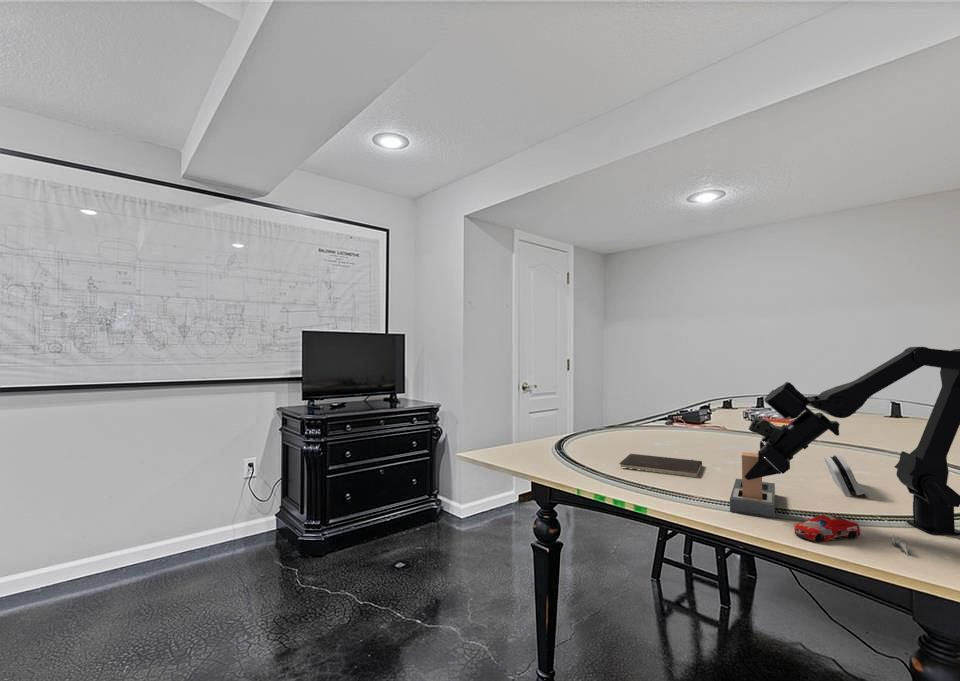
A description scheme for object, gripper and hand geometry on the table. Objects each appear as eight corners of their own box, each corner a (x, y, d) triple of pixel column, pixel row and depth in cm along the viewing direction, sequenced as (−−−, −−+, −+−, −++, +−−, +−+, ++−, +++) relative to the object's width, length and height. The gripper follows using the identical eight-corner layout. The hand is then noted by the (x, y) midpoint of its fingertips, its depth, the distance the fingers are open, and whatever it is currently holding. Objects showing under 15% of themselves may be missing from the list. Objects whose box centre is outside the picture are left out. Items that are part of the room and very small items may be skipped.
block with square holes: (774, 518, 106) (774, 504, 106) (730, 511, 111) (729, 497, 111) (775, 494, 123) (774, 482, 123) (736, 489, 128) (736, 477, 128)
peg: (762, 512, 110) (761, 457, 110) (742, 509, 112) (741, 455, 112) (762, 507, 113) (761, 453, 114) (743, 504, 116) (742, 452, 116)
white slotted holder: (870, 499, 118) (852, 461, 120) (848, 503, 120) (831, 465, 122) (855, 482, 133) (839, 448, 135) (835, 486, 135) (820, 452, 137)
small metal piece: (921, 559, 86) (920, 543, 86) (905, 558, 87) (905, 542, 87) (904, 545, 92) (904, 530, 92) (889, 544, 92) (889, 529, 92)
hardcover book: (696, 479, 139) (696, 472, 139) (619, 470, 151) (619, 463, 151) (702, 467, 153) (702, 460, 153) (630, 459, 165) (630, 453, 165)
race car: (809, 545, 92) (809, 524, 92) (787, 534, 98) (787, 515, 98) (867, 540, 94) (866, 520, 94) (842, 529, 100) (841, 511, 100)
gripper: (771, 402, 119) (724, 441, 125) (770, 411, 103) (716, 455, 109) (810, 436, 114) (758, 474, 120) (815, 450, 99) (756, 494, 104)
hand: (747, 473), depth 114 cm, fingers open, 9 cm apart
